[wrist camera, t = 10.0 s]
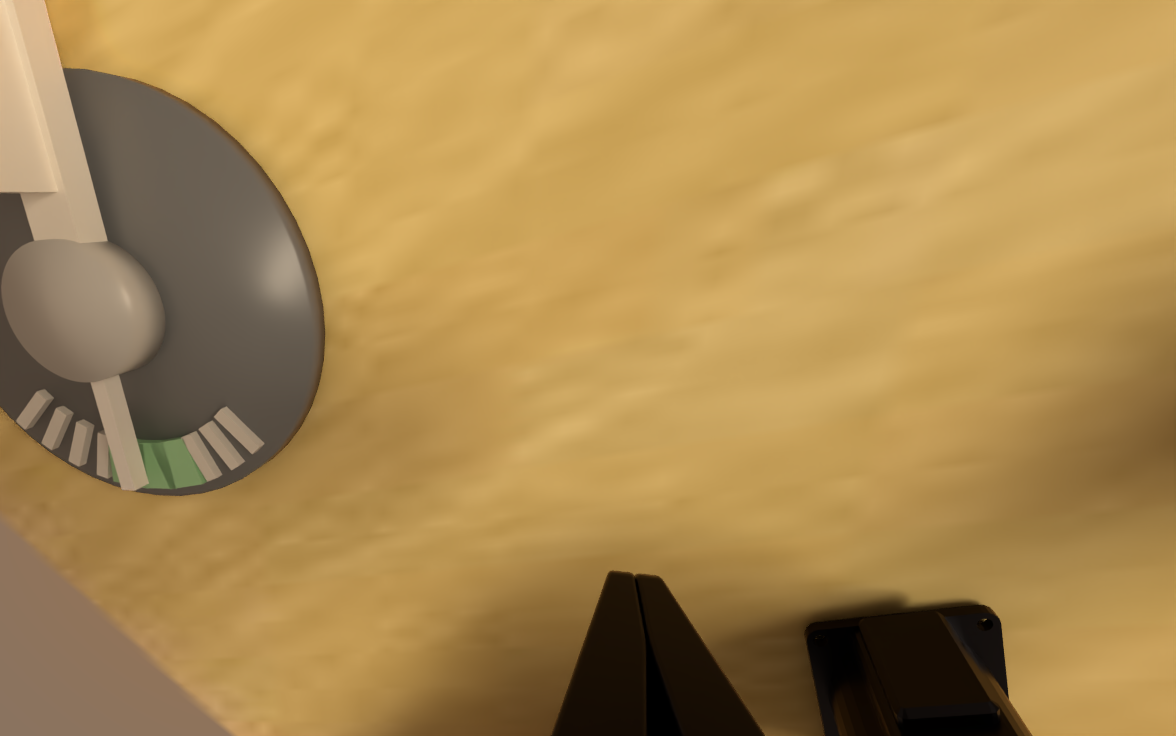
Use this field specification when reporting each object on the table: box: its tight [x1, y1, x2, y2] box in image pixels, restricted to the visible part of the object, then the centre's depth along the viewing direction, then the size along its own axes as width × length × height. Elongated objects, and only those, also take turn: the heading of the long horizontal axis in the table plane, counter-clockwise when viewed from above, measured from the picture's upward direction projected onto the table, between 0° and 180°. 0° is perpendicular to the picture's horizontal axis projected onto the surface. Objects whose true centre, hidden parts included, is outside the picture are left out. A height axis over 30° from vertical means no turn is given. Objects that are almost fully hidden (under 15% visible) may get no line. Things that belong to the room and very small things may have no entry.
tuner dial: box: [0, 68, 325, 496], centre depth 22 cm, size 16×16×1 cm
